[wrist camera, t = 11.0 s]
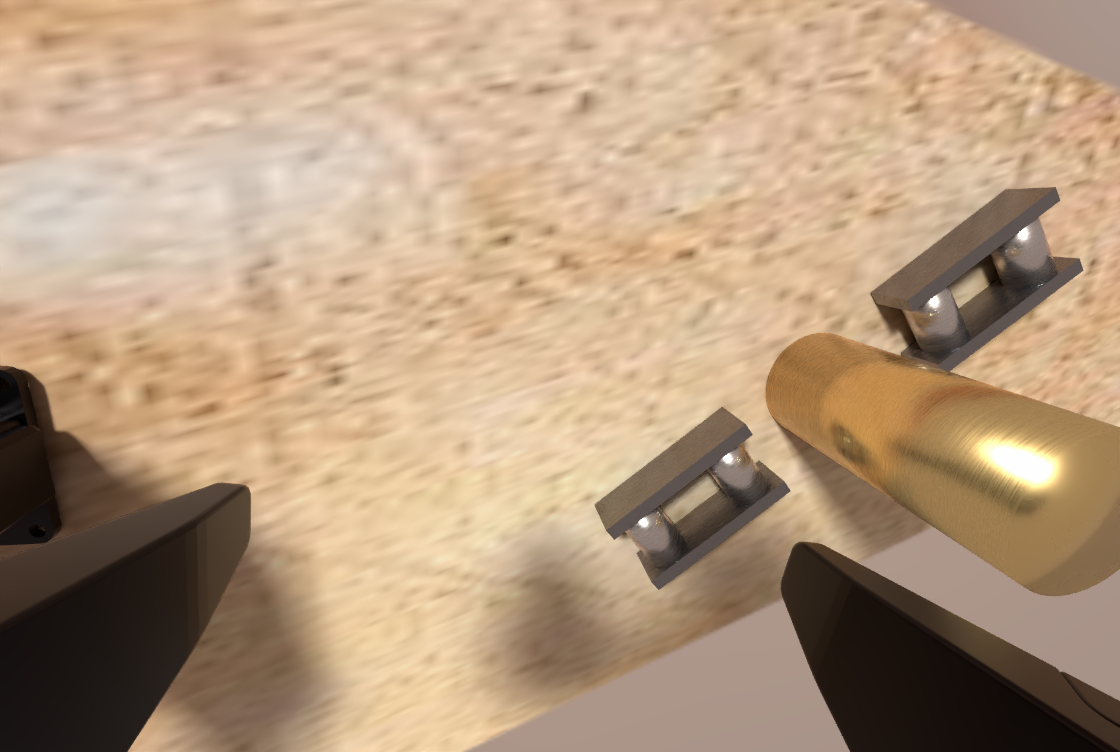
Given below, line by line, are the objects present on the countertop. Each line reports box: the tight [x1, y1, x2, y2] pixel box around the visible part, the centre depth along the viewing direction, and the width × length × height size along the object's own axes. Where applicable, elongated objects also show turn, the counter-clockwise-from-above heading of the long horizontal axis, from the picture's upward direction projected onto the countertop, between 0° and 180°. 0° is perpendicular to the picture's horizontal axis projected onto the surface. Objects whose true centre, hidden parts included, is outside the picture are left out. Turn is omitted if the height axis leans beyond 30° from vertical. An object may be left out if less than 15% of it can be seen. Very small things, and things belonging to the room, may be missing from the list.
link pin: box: [766, 333, 1120, 596], centre depth 18 cm, size 5×5×11 cm
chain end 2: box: [871, 187, 1083, 372], centre depth 22 cm, size 7×4×2 cm, turn 126°
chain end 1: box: [595, 407, 790, 590], centre depth 23 cm, size 7×4×2 cm, turn 126°
